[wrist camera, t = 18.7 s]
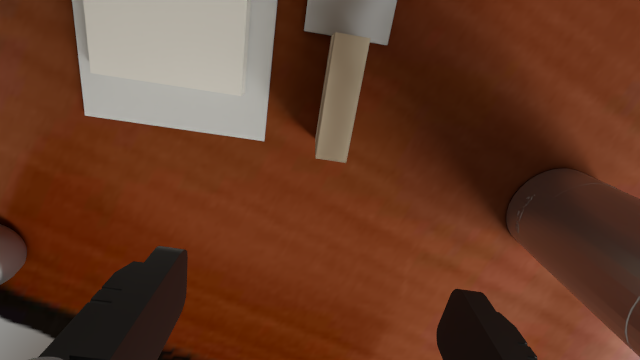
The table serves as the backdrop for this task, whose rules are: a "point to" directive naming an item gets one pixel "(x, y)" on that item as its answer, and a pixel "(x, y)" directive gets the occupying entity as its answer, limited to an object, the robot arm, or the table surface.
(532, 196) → the robot arm
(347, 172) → the table surface
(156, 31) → the tile
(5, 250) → the plastic bottle
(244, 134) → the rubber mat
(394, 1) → the scraper
